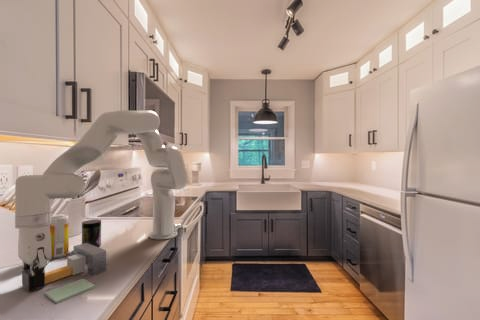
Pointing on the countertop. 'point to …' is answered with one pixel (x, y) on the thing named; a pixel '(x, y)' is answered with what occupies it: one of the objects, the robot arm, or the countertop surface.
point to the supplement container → (91, 232)
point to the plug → (60, 270)
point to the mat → (69, 290)
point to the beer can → (59, 235)
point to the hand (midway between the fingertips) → (33, 285)
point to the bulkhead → (92, 257)
